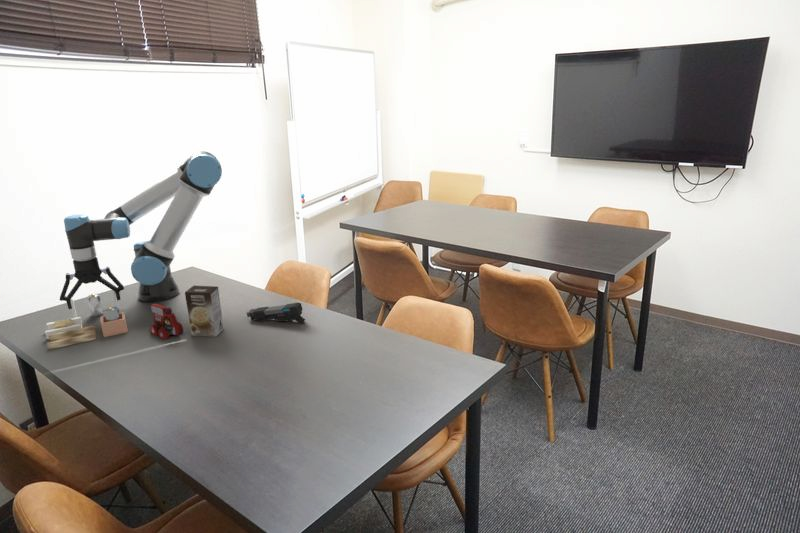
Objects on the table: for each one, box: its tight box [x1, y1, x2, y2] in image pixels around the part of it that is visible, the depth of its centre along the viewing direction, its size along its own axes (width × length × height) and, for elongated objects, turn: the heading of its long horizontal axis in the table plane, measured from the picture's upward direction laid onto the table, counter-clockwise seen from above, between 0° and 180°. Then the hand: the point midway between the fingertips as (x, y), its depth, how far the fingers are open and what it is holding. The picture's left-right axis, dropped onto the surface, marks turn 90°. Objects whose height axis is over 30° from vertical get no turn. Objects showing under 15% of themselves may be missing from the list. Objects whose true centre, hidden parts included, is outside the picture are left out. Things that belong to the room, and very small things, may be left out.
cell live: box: [87, 293, 105, 317], centre depth 181 cm, size 4×4×9 cm
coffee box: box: [184, 285, 224, 338], centre depth 164 cm, size 9×6×16 cm
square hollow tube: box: [99, 311, 129, 338], centre depth 167 cm, size 7×7×6 cm
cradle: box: [44, 316, 83, 340], centre depth 168 cm, size 10×9×3 cm
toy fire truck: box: [149, 303, 184, 340], centre depth 164 cm, size 7×12×10 cm, turn 57°
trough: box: [46, 325, 97, 350], centre depth 162 cm, size 13×8×3 cm, turn 121°
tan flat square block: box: [54, 318, 72, 329], centre depth 168 cm, size 5×5×1 cm
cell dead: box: [103, 306, 120, 322], centre depth 167 cm, size 4×4×9 cm
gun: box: [246, 302, 306, 325], centre depth 174 cm, size 4×20×10 cm, turn 78°
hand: (97, 312), depth 181 cm, fingers open, 13 cm apart
